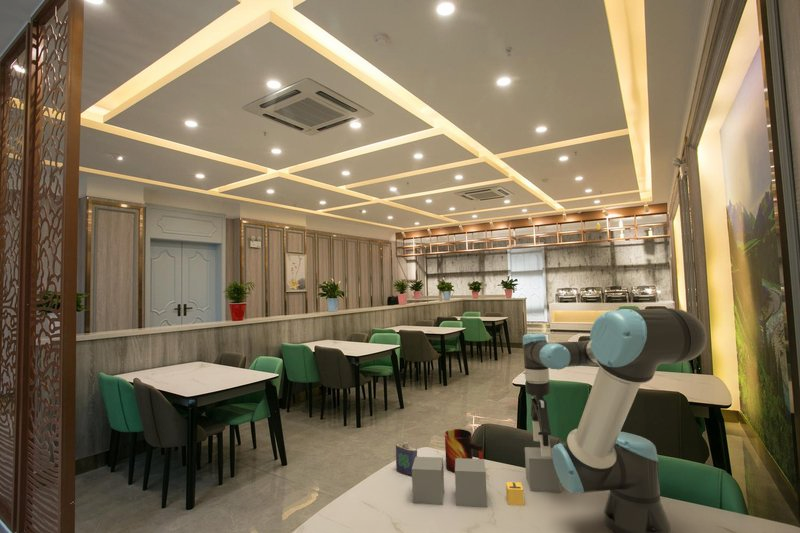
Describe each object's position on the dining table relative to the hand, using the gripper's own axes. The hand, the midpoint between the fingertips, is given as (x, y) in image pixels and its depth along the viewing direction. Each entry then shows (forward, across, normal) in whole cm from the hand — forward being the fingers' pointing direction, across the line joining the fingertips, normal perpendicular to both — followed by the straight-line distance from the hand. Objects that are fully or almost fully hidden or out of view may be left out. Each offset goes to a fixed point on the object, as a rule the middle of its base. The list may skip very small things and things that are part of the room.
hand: (541, 448), depth 127 cm
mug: (+12, -11, -25) cm, 30 cm away
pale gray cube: (+12, +10, -23) cm, 28 cm away
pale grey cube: (+12, -1, 0) cm, 12 cm away
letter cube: (+12, +10, -10) cm, 19 cm away
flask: (+11, -5, -46) cm, 47 cm away
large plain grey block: (+12, +10, -36) cm, 40 cm away
